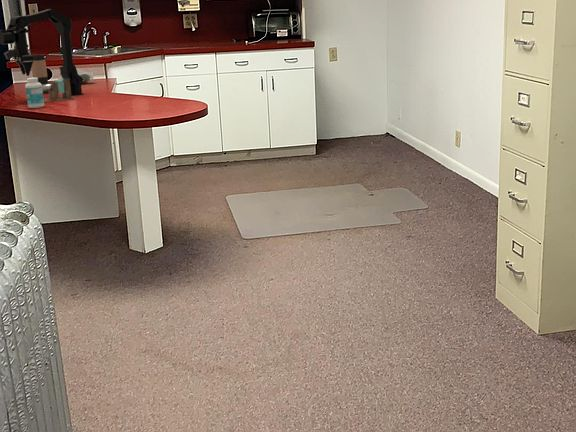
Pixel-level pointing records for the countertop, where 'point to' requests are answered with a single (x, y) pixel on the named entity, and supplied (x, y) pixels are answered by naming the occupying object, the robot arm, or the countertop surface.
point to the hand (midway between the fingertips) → (25, 75)
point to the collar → (60, 86)
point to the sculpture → (82, 75)
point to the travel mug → (40, 70)
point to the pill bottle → (34, 93)
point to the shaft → (47, 87)
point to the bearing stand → (54, 92)
